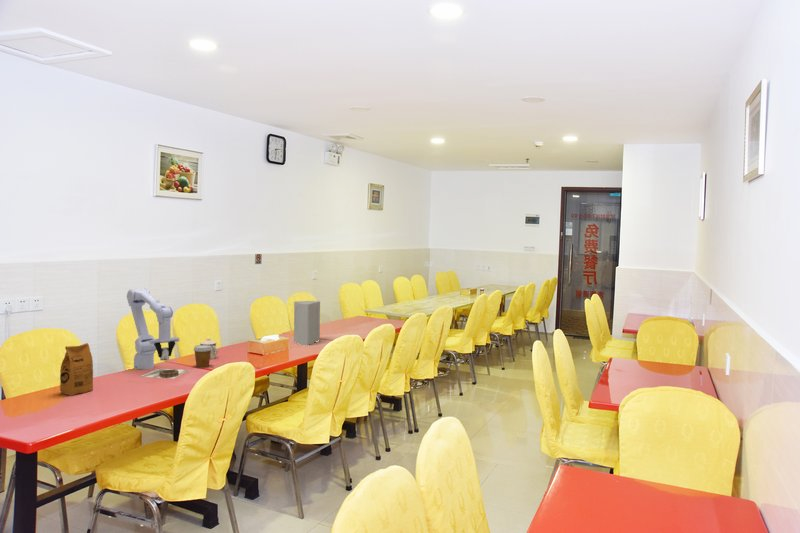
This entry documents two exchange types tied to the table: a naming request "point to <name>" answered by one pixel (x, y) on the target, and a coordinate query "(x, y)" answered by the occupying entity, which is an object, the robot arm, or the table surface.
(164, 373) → the ring collar
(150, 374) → the plate
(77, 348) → the coffee package
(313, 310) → the grey block
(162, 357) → the piston
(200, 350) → the disposable coffee cup
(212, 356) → the teacup with lid
